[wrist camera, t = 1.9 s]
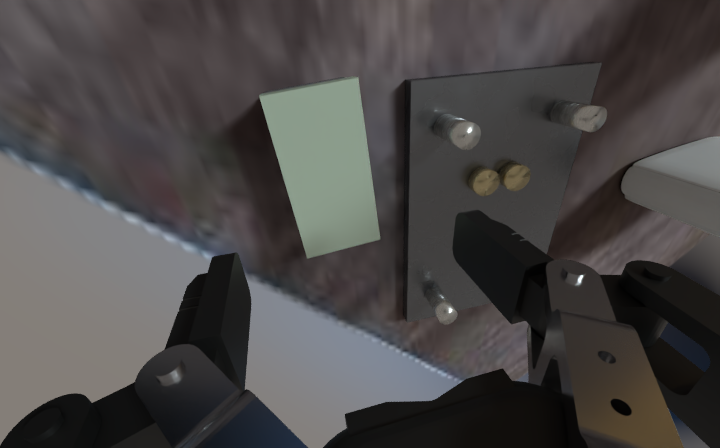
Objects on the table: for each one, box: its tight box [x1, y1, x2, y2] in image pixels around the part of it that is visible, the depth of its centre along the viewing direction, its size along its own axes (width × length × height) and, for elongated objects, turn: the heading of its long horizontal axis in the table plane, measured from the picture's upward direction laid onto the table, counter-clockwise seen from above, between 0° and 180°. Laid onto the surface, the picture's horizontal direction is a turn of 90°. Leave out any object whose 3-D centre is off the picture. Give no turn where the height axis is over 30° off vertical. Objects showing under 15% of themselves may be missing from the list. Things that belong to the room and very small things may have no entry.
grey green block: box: [259, 76, 380, 259], centre depth 20 cm, size 5×10×4 cm, turn 9°
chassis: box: [403, 62, 607, 324], centre depth 25 cm, size 14×21×4 cm, turn 4°
